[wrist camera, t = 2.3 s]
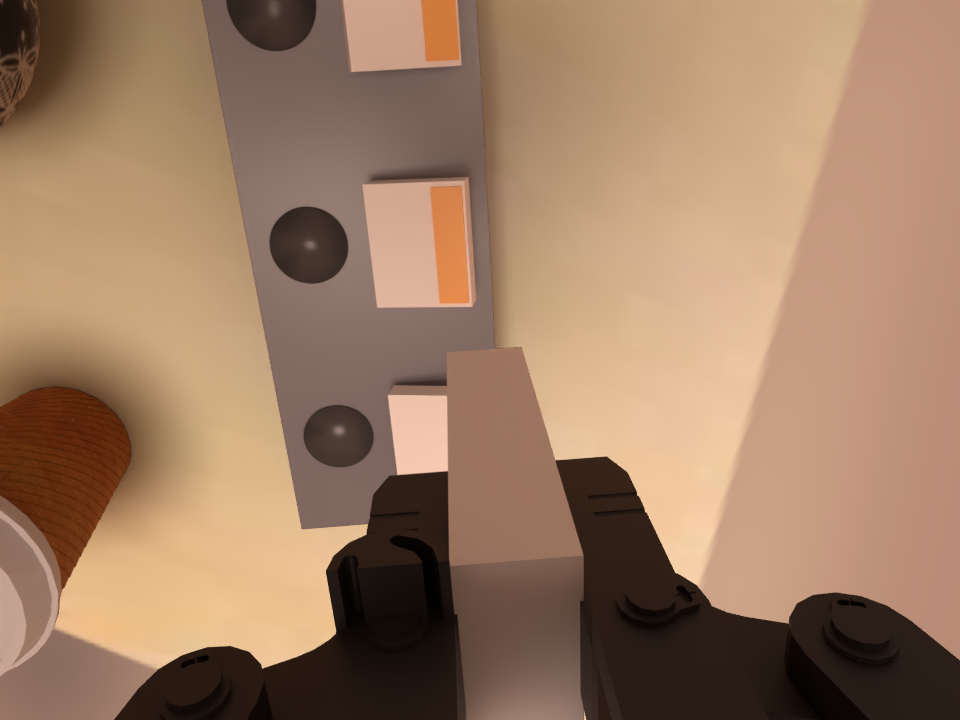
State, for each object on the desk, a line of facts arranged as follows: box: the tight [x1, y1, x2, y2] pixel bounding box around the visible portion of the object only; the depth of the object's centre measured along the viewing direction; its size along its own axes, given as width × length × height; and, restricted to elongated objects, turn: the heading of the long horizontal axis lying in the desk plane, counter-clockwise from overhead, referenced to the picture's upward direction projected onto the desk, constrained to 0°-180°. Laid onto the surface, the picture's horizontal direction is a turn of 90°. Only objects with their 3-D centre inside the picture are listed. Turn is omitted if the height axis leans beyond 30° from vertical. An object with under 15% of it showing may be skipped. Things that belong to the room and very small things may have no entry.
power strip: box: [202, 0, 495, 529], centre depth 30 cm, size 28×10×4 cm, turn 3°
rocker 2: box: [388, 385, 448, 475], centre depth 31 cm, size 5×4×1 cm
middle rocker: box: [362, 177, 476, 308], centre depth 28 cm, size 5×4×1 cm
